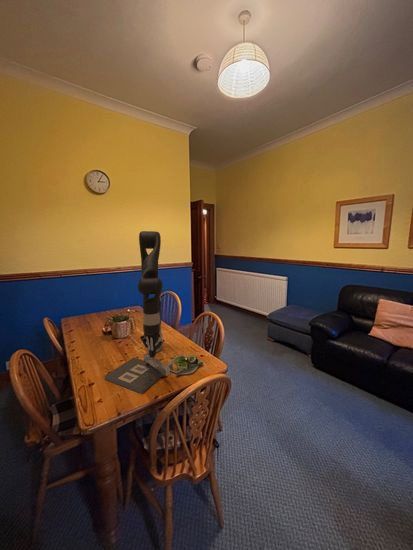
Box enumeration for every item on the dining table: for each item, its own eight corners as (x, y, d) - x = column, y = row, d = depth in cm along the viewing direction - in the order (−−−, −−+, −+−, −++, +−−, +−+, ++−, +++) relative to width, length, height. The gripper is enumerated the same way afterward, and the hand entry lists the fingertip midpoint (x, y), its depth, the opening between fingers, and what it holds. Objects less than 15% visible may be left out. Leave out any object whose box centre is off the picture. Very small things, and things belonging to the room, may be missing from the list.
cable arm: (142, 359, 125) (142, 354, 124) (148, 357, 127) (148, 352, 127) (164, 376, 110) (164, 370, 109) (171, 373, 112) (170, 367, 112)
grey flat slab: (133, 360, 132) (133, 353, 132) (168, 371, 122) (167, 364, 121) (104, 379, 115) (104, 371, 114) (141, 394, 104) (141, 385, 103)
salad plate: (190, 382, 114) (190, 373, 113) (159, 373, 120) (159, 365, 120) (205, 363, 131) (205, 355, 130) (178, 356, 138) (178, 349, 137)
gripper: (168, 321, 105) (169, 356, 108) (145, 316, 111) (147, 349, 114) (158, 327, 98) (159, 364, 101) (134, 321, 104) (136, 357, 107)
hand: (152, 356), depth 108 cm, fingers closed
